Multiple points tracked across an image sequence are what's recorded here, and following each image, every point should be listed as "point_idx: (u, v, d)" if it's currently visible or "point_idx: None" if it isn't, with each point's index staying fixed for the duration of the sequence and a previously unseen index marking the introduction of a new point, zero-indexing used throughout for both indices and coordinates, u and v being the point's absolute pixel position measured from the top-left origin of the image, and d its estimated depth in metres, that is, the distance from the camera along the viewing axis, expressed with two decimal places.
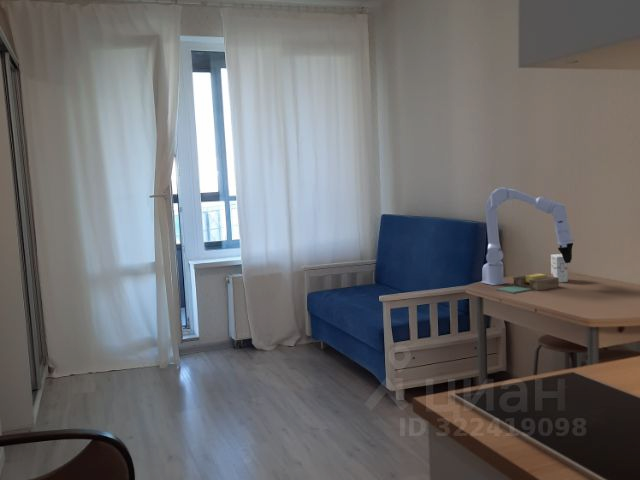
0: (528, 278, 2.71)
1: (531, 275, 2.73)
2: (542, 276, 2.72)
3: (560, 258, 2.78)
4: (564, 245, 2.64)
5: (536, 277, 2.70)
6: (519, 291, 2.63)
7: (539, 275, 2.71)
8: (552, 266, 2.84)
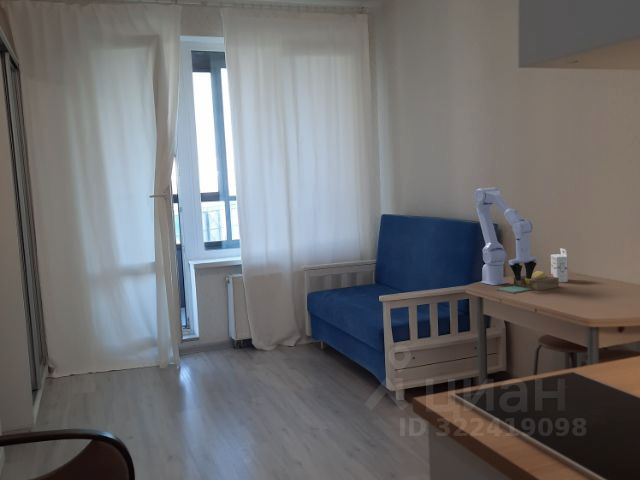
0: (527, 281, 2.71)
1: None
2: (541, 275, 2.71)
3: (560, 258, 2.78)
4: (511, 263, 2.66)
5: (535, 278, 2.70)
6: (519, 291, 2.63)
7: (537, 275, 2.71)
8: (552, 266, 2.84)
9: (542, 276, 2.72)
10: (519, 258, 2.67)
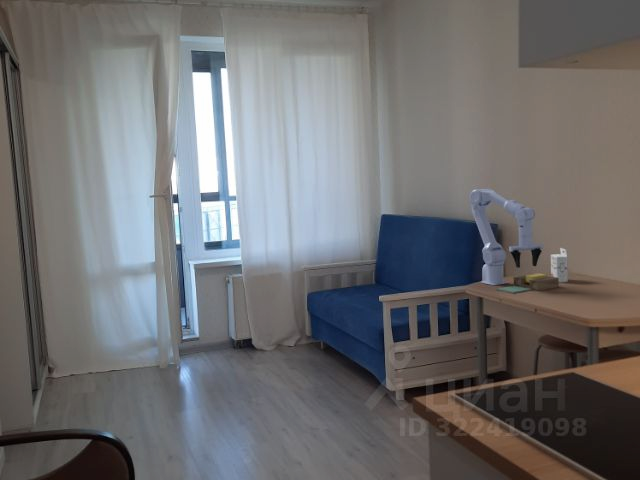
0: (528, 278, 2.71)
1: (531, 275, 2.73)
2: (542, 276, 2.72)
3: (560, 258, 2.78)
4: (510, 250, 2.68)
5: (536, 277, 2.70)
6: (519, 291, 2.63)
7: (539, 275, 2.71)
8: (552, 266, 2.84)
9: None
10: (520, 245, 2.68)
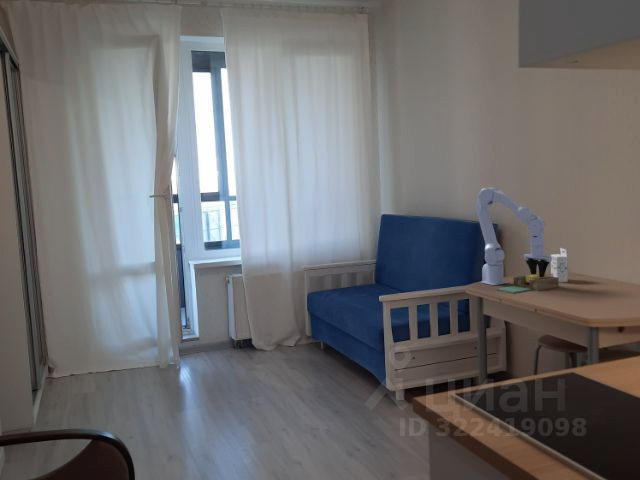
0: (528, 278, 2.71)
1: (531, 275, 2.73)
2: None
3: (560, 258, 2.78)
4: None
5: (536, 277, 2.70)
6: (519, 291, 2.63)
7: None
8: (552, 266, 2.84)
9: None
10: None
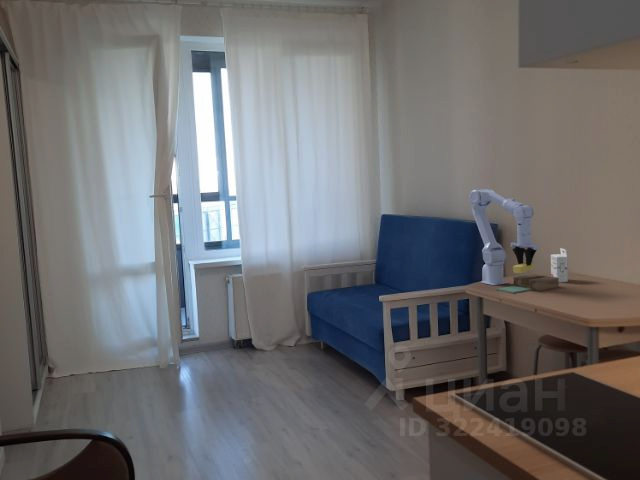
0: (515, 268, 2.68)
1: (518, 265, 2.69)
2: (529, 265, 2.68)
3: (560, 258, 2.78)
4: None
5: (523, 267, 2.67)
6: (519, 291, 2.63)
7: None
8: (552, 266, 2.84)
9: (531, 266, 2.68)
10: None
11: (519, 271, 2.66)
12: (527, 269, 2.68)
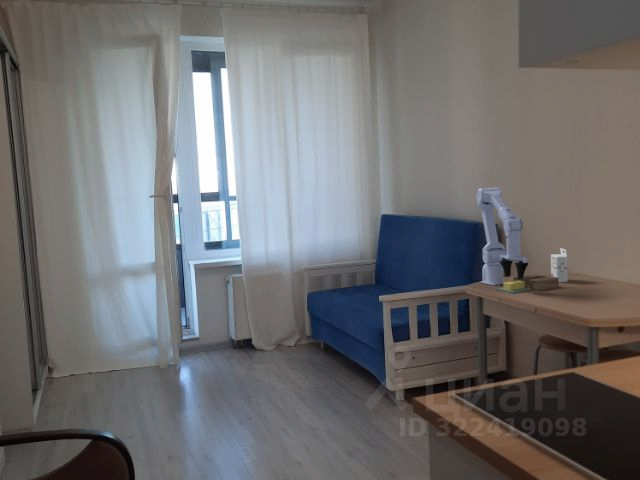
0: (506, 285, 2.66)
1: (509, 282, 2.67)
2: (520, 283, 2.67)
3: (560, 258, 2.78)
4: None
5: (514, 284, 2.65)
6: (519, 291, 2.63)
7: (517, 282, 2.66)
8: (552, 266, 2.84)
9: (521, 285, 2.67)
10: None
11: (509, 288, 2.65)
12: (517, 287, 2.66)
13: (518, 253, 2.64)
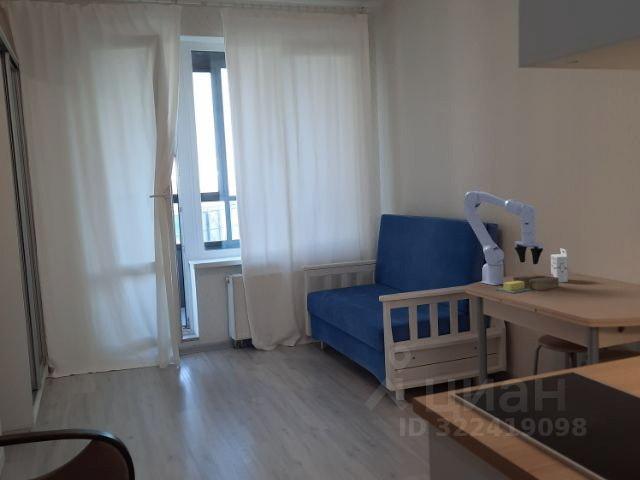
0: (506, 285, 2.66)
1: (509, 282, 2.67)
2: (520, 283, 2.67)
3: (560, 258, 2.78)
4: None
5: (514, 284, 2.65)
6: (519, 291, 2.63)
7: (517, 282, 2.66)
8: (552, 266, 2.84)
9: (521, 285, 2.67)
10: None
11: (509, 288, 2.65)
12: (517, 287, 2.66)
13: (533, 239, 2.72)
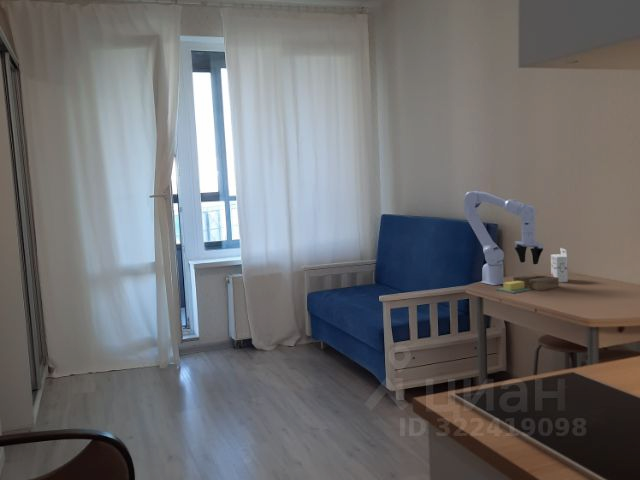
0: (506, 285, 2.66)
1: (509, 282, 2.67)
2: (520, 283, 2.67)
3: (560, 258, 2.78)
4: None
5: (514, 284, 2.65)
6: (519, 291, 2.63)
7: (517, 282, 2.66)
8: (552, 266, 2.84)
9: (521, 285, 2.67)
10: None
11: (509, 288, 2.65)
12: (517, 287, 2.66)
13: (533, 239, 2.72)
